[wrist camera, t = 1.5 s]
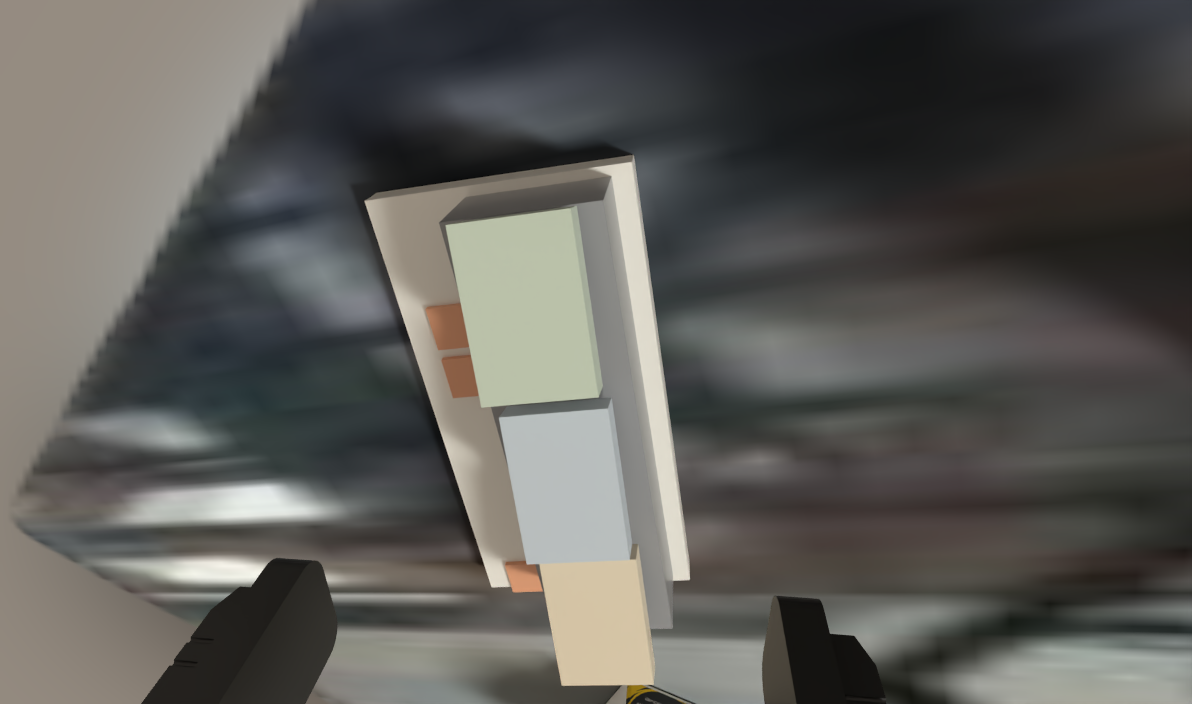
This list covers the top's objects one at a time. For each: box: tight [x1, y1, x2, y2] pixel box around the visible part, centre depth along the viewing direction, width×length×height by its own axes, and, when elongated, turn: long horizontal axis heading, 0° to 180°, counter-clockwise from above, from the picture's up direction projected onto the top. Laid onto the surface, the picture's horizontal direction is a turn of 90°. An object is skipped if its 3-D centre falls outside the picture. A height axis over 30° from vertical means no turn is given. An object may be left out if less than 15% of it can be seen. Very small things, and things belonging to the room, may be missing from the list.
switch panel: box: [365, 155, 690, 629], centre depth 36 cm, size 26×13×6 cm, turn 9°
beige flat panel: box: [539, 544, 655, 686], centre depth 36 cm, size 8×5×2 cm, turn 10°
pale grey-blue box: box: [499, 397, 632, 564], centre depth 32 cm, size 8×5×2 cm, turn 10°
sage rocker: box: [445, 206, 603, 408], centre depth 27 cm, size 8×5×2 cm, turn 10°
